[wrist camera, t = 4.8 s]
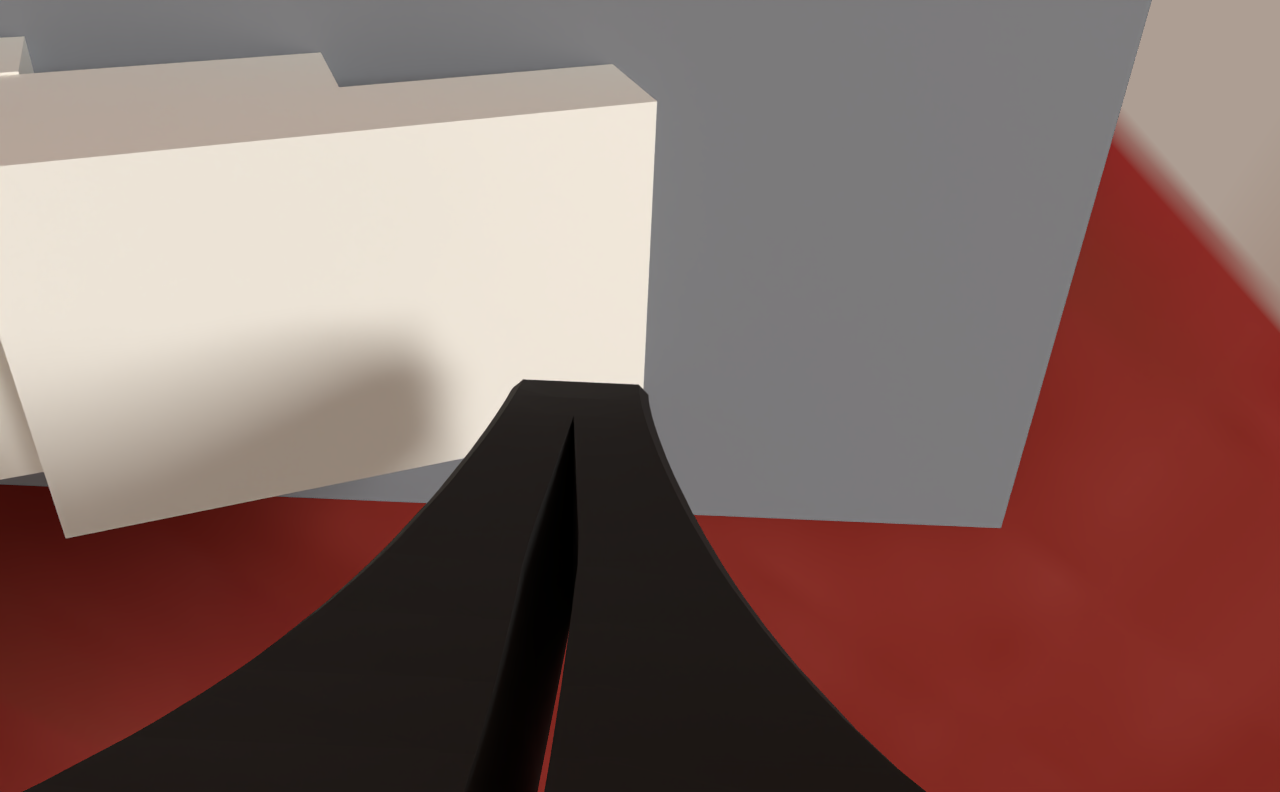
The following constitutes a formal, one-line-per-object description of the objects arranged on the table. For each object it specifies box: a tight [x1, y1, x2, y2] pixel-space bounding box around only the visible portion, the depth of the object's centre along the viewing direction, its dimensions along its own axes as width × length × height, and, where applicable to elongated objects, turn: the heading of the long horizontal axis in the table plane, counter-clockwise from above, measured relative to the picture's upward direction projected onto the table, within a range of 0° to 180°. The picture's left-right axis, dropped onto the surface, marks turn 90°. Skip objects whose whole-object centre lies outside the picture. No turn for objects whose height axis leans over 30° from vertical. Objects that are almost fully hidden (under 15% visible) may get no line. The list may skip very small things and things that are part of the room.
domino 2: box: [0, 64, 657, 538], centre depth 15 cm, size 2×5×8 cm
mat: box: [0, 0, 1152, 528], centre depth 17 cm, size 28×11×1 cm, turn 88°
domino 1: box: [0, 52, 339, 480], centre depth 15 cm, size 2×5×8 cm
